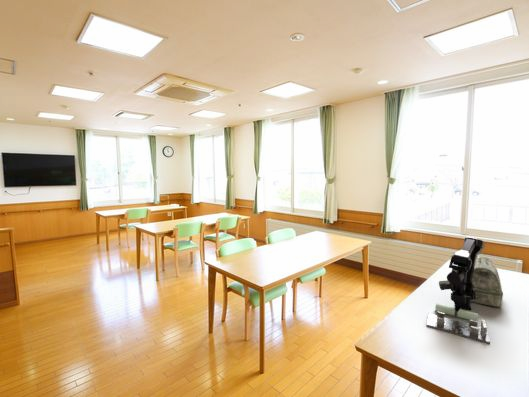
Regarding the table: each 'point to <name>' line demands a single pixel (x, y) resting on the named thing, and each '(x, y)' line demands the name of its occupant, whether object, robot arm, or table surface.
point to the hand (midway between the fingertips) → (456, 307)
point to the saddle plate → (459, 327)
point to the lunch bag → (486, 283)
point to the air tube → (452, 311)
